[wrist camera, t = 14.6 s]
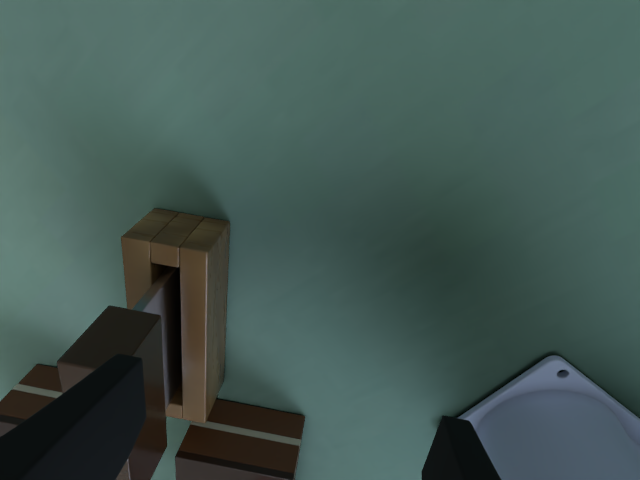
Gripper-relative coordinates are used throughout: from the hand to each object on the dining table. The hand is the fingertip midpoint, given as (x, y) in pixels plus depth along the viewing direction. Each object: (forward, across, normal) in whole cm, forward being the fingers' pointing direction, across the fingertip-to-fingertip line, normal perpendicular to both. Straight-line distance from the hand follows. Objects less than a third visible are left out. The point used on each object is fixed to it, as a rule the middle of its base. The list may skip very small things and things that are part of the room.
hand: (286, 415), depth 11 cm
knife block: (+10, +6, +6) cm, 13 cm away
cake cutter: (+10, +6, +5) cm, 13 cm away
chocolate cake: (+10, +3, +16) cm, 19 cm away
